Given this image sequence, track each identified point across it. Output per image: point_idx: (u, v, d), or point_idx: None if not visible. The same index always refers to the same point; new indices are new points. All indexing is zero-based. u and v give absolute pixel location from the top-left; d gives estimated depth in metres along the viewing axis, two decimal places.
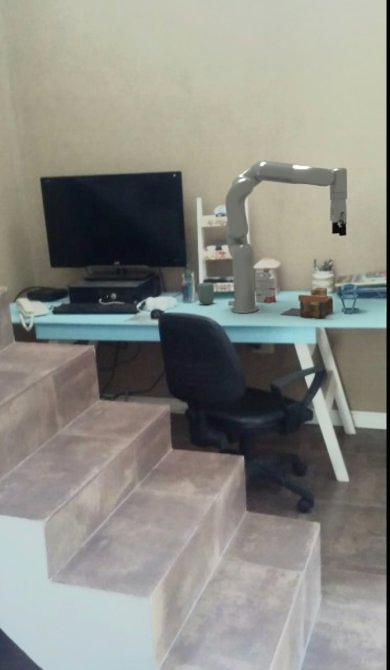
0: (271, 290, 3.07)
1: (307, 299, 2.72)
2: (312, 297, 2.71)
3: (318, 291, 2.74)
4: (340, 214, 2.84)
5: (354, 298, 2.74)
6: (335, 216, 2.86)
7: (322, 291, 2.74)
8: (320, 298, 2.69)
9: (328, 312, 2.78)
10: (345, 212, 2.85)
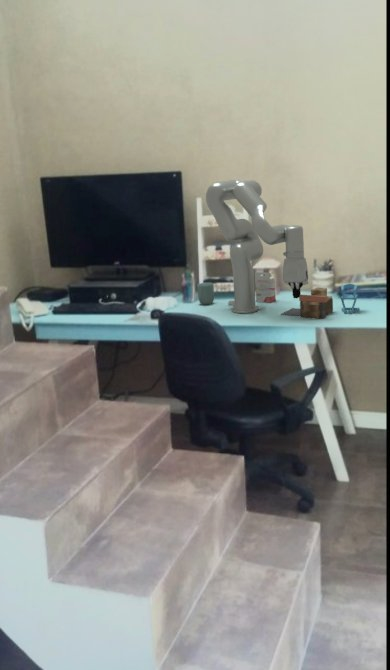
0: (271, 290, 3.07)
1: (308, 299, 2.72)
2: (313, 297, 2.71)
3: (318, 291, 2.74)
4: (305, 273, 2.70)
5: (354, 298, 2.74)
6: (300, 276, 2.70)
7: (322, 291, 2.74)
8: (321, 298, 2.69)
9: (328, 312, 2.78)
10: (307, 271, 2.72)
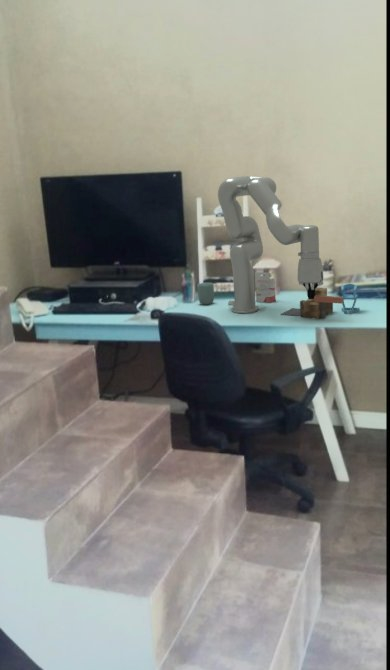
0: (271, 290, 3.07)
1: (323, 300, 2.68)
2: (328, 298, 2.67)
3: (318, 291, 2.74)
4: (321, 274, 2.66)
5: (354, 298, 2.74)
6: (315, 277, 2.66)
7: (322, 291, 2.74)
8: (336, 299, 2.65)
9: (328, 312, 2.78)
10: (322, 271, 2.68)
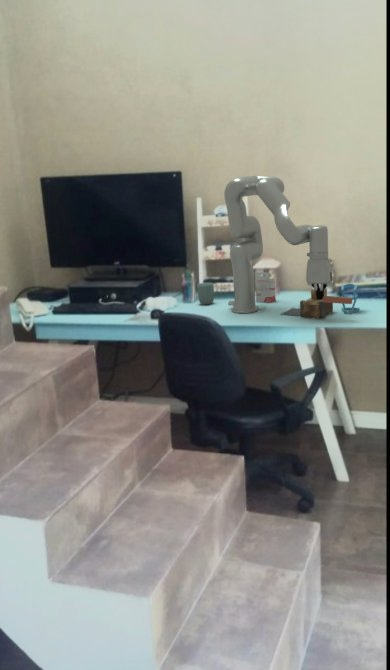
0: (271, 290, 3.07)
1: (332, 300, 2.66)
2: (337, 298, 2.65)
3: None
4: (330, 274, 2.64)
5: (354, 298, 2.74)
6: (324, 277, 2.64)
7: None
8: (346, 299, 2.63)
9: (328, 312, 2.78)
10: (331, 272, 2.66)
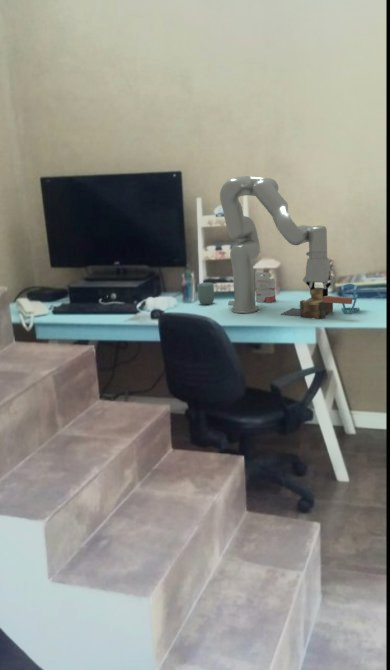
0: (271, 290, 3.07)
1: (332, 300, 2.66)
2: (337, 298, 2.65)
3: (318, 291, 2.74)
4: (329, 273, 2.71)
5: (354, 298, 2.74)
6: (323, 276, 2.71)
7: (322, 291, 2.74)
8: (346, 299, 2.63)
9: (328, 312, 2.78)
10: (330, 271, 2.73)
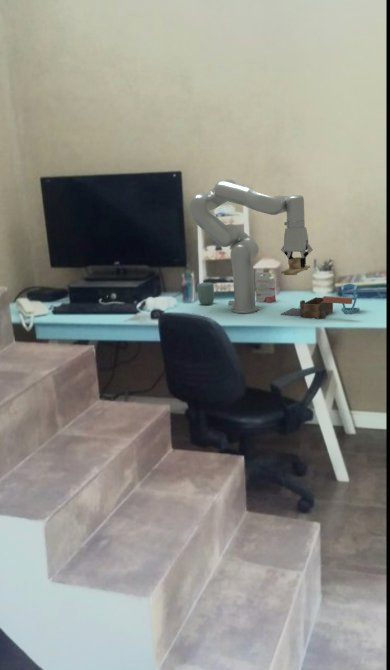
0: (271, 290, 3.07)
1: (332, 300, 2.66)
2: (337, 298, 2.65)
3: (296, 260, 2.77)
4: (306, 242, 2.75)
5: (354, 298, 2.74)
6: (301, 245, 2.75)
7: (300, 260, 2.78)
8: (346, 299, 2.63)
9: (328, 312, 2.78)
10: None
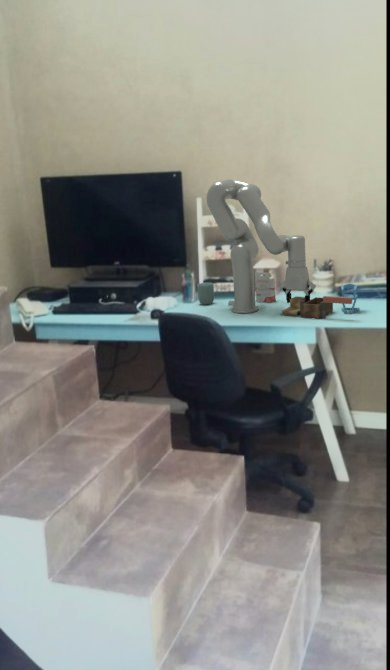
0: (271, 290, 3.07)
1: (332, 300, 2.66)
2: (337, 298, 2.65)
3: (297, 300, 2.82)
4: (307, 282, 2.79)
5: (354, 298, 2.74)
6: (302, 284, 2.79)
7: (301, 300, 2.82)
8: (346, 299, 2.63)
9: (328, 312, 2.78)
10: None
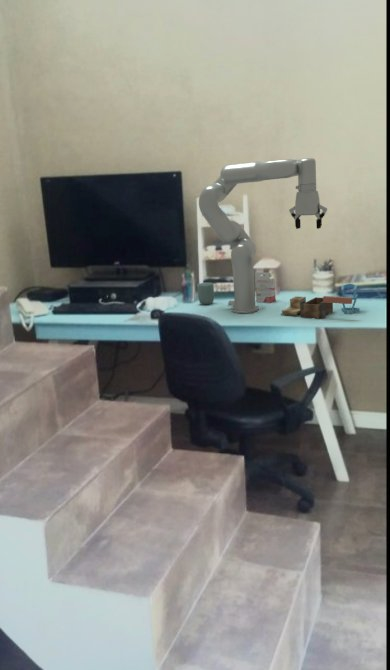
0: (271, 290, 3.07)
1: (332, 300, 2.66)
2: (337, 298, 2.65)
3: (297, 300, 2.82)
4: (318, 206, 2.73)
5: (354, 298, 2.74)
6: (312, 208, 2.73)
7: (301, 300, 2.82)
8: (346, 299, 2.63)
9: (328, 312, 2.78)
10: (319, 204, 2.75)
